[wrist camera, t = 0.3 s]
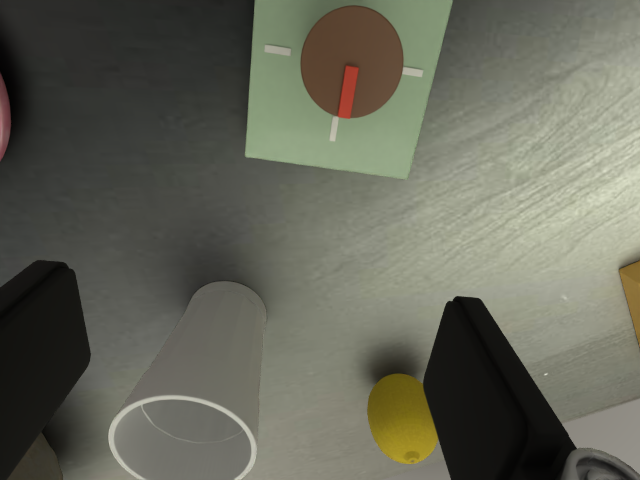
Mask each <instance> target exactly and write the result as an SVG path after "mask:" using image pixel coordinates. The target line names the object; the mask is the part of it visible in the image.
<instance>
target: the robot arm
mask: <svg viewBox="0 0 640 480" xmlns="http://www.w3.org/2000/svg"><path fill="white" fill-rule="evenodd" d="M90 356H91V353H90V347H89V342H88V337H87V332H86V327H85V321H84V316H83V311H82V306H81V301H80V296H79V290H78V285H77V280H76V275H75V272H74V271H73V270H72V269H69V267H68V266H67V264H66V263H64V262H55V261H44V260H37V261H35V262H33V263H32V264H31V265H29V266H28V267H27V268H25V269H24V270H23V271H21V272H20V273H19V274H18V275H16V276H15V277H14V278H12V279H11V280H10V281H8V282H7V283H6V284H4V285H3V286H2V287H0V480H7V479H8V477H9V476H10V475H11V473H12V472H13V470H14V469H15V468H16V466H17V465H18V464H19V462H20V461H21V459H22V458H23V457H24V455H25V454H26V452H27V451H28V450H29V448H30V447H31V445H32V444H33V443H34V441H35V440H36V438H37V437H38V436H39V434H40V433H41V431H42V430H43V429H44V427H45V426H46V424H47V423H48V422H49V420H50V419H51V417H52V416H53V415H54V413H55V412H56V410H57V409H58V408H59V406H60V405H61V403H62V402H63V401H64V399H65V398H66V396H67V395H68V394H69V392H70V391H71V389H72V388H73V387H74V385H75V384H76V382H77V381H78V380H79V378H80V377H81V375H82V374H83V373H84V371H85V370H86V368H87V367H88V364H89V362H90ZM423 388H424V394H425V397H426V400H427V403H428V407H429V410H430V413H431V416H432V419H433V423H434V426H435V429H436V432H437V436H438V439H439V442H440V445H441V448H442V452H443V455H444V458H445V461H446V465H447V468H448V471H449V474H450V478H451V480H640V475H639V474H638V473H637V472H636V471H635V470H634V469H633V468H631V467H630V466H629V465H627V464H626V463H624V462H623V461H621V460H620V459H618V458H616V457H614V456H612V455H609V454H607V453H606V452H603V451H600V450H596V449H592V448H578V449H577V448H576V447H575V445H574V444H573V442H572V440H571V439H570V437H569V435H568V433H567V432H566V430H565V429H564V427H563V426H562V424H561V422H560V421H559V419H558V418H557V416H556V415H555V413H554V412H553V410H552V408H551V407H550V405H549V404H548V402H547V401H546V399H545V398H544V396H543V395H542V393H541V391H540V390H539V388H538V387H537V385H536V384H535V382H534V381H533V379H532V378H531V376H530V374H529V373H528V371H527V370H526V368H525V367H524V365H523V364H522V362H521V361H520V359H519V357H518V356H517V354H516V353H515V351H514V350H513V348H512V347H511V345H510V344H509V342H508V340H507V339H506V337H505V336H504V334H503V333H502V331H501V330H500V328H499V327H498V325H497V324H496V322H495V320H494V319H493V317H492V316H491V314H490V313H489V311H488V310H487V308H486V307H485V305H484V303H483V302H482V301H481V299H479V298H473V297H461V296H457V297H455V298H454V299H453V301H448V302H447V303H446V306H445V309H444V312H443V315H442V319H441V322H440V325H439V329H438V332H437V335H436V339H435V342H434V346H433V349H432V352H431V356H430V359H429V362H428V366H427V369H426V372H425V376H424V380H423Z"/></svg>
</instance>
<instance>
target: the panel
mask: <svg viewBox="0 0 640 480" xmlns="http://www.w3.org/2000/svg"><path fill="white" fill-rule="evenodd" d="M452 3H453V0H255V5H254V21H253V37H252V53H251V69H250V85H249V101H248V117H247V133H246V149H245V157H250V158H257V159H264V160H272V161H279V162H286V163H293V164H300V165H307V166H314V167H321V168H328V169H335V170H343V171H350V172H357V173H364V174H371V175H378V176H385V177H392V178H399V179H408V177H409V173H410V169H411V165H412V161H413V157H414V153H415V149H416V145H417V141H418V137H419V133H420V129H421V125H422V121H423V117H424V113H425V110H426V106H427V102H428V98H429V94H430V90H431V86H432V82H433V78H434V74H435V70H436V66H437V62H438V58H439V54H440V50H441V46H442V42H443V38H444V34H445V30H446V26H447V22H448V18H449V14H450V11H451V7H452ZM351 5H357V6H364V7H368V8H371V9H373V10H375V11H377V12H379V13H380V14H382V15H383V16H384V17H385V18H387V19H388V21H389V22H390V23H391V24H392V25H393V27H394V28H395V30H396V31H397V34H398V36H399V38H400V41H401V44H402V48H403V57H404V62H403V71H402V76H401V79H400V82H399V84H398V87H397V89H396V90H395V92H394V94H393V95H392V97H391V98H390V99H389V100H388V101H387V102H386V103H385V104H384V105H383V106H382V107H381V108H380V109H378V110H376V111H375V112H373V113H371V114H369V115H366V116H363V117H359V118H350V119H346V118H340V117H337V116H334V115H332V114H330V113H328V112H326V111H324V110H323V109H322V108H320V107H319V106H318V105H317V104H316V103H315V102H314V101H313V100H312V98H311V97H310V95H309V94H308V92H307V90H306V88H305V86H304V83H303V80H302V75H301V66H300V62H301V53H302V48H303V45H304V42H305V39H306V37H307V35H308V33H309V32H310V30H311V28H312V27H313V26H314V25H315V23H316V22H317V21H318V20H319V19H320V18H321V17H323V16H324V15H325V14H327V13H329V12H330V11H332V10H334V9H337V8H340V7H344V6H351Z"/></svg>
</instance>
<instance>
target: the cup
mask: <svg viewBox="0 0 640 480" xmlns="http://www.w3.org/2000/svg"><path fill="white" fill-rule="evenodd" d="M266 319H267V312H266V308H265V305H264V303H263V301H262V300H261V298H260V297H259V296H258V295H257V294H256V293H255V292H254V291H253V290H251V289H250V288H248V287H246V286H244V285H242V284H239V283H236V282H230V281H218V282H213V283H209V284H207V285H205V286H203V287H201V288H200V289H199V290H198V291H197V292H196V293H195V294H194V295H193V297H192V298H191V300H190V302H189V304H188V306H187V309H186V311H185V313H184V315H183V316H182V318H181V319H180V321H179V322H178V324H177V325H176V327H175V329H174V330H173V332H172V333H171V335H170V336H169V338H168V340H167V341H166V343H165V344H164V346H163V347H162V349H161V351H160V352H159V354H158V355H157V357H156V358H155V360H154V361H153V363H152V365H151V366H150V368H149V369H148V370H147V371H146V372H145V373H144V375H143V376H142V378H141V379H140V381H139V382H138V383H137V385H136V386H135V388H134V389H133V391H132V392H131V394H130V395H129V397H128V398H127V400H126V401H125V403H124V404H123V406H122V407H121V409H120V410H119V412H118V413H117V415H116V416H115V418H114V419H113V421H112V423H111V425H110V428H109V434H108V440H109V445H110V449H111V451H112V453H113V455H114V457H115V458H116V460H117V461H118V462H119V464H120V465H121V466H122V467H123V468H124V469H125V470H127V471H128V472H129V473H130V474H132V475H133V476H135V477H136V478H138V479H140V480H241V479H242V478H243V477H244V476H245V475H246V474H247V473H248V472H249V471H250V470H251V468H252V467H253V465H254V463H255V460H256V456H257V442H258V423H259V386H260V373H261V360H262V346H263V334H264V330H265V325H266Z"/></svg>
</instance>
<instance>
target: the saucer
mask: <svg viewBox="0 0 640 480" xmlns="http://www.w3.org/2000/svg"><path fill="white" fill-rule="evenodd" d="M10 129H11V113H10V103H9V98H8V93H7V89H6V86H5V83H4V80H3V78H2V75H1V73H0V161H1V159H2V158H3V156H4V153H5V151H6V148H7V145H8V142H9V137H10Z"/></svg>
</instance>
